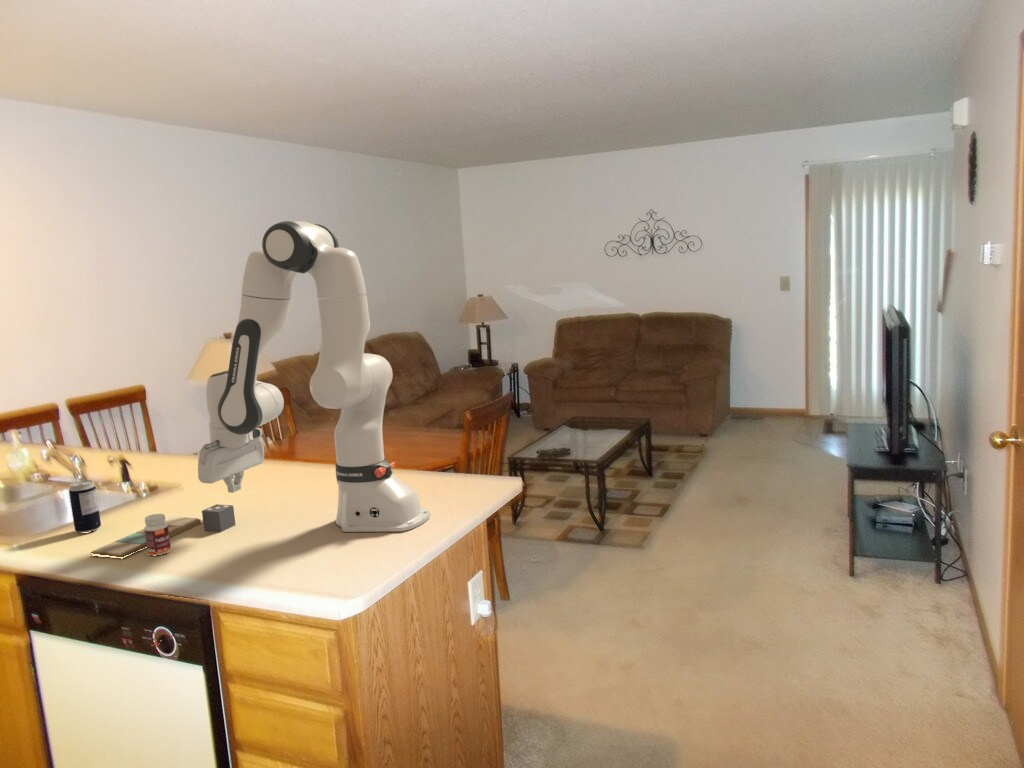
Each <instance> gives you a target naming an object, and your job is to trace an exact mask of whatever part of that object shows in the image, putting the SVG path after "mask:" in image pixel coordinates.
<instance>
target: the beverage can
mask: <svg viewBox="0 0 1024 768" xmlns="http://www.w3.org/2000/svg"><path fill="white" fill-rule="evenodd" d="M69 486H70V487H69V489H68V494H69V499H70V506H71V507H70V508H71V513H72V518H73V527H74V531H76V532H78V533H79V532H89V531H94V530H97V529H98V530H99V528H100V527H102V524H101V523H102V522H101V515H100V510H99V509H100V508H99V502H98V501H99V500H98V495H97V489H96V485H95V484H94V481H93V480H82V481H75V482H73V483H71V484H70V485H69ZM98 530H97V531H98ZM94 532H95V531H94Z"/></svg>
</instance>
